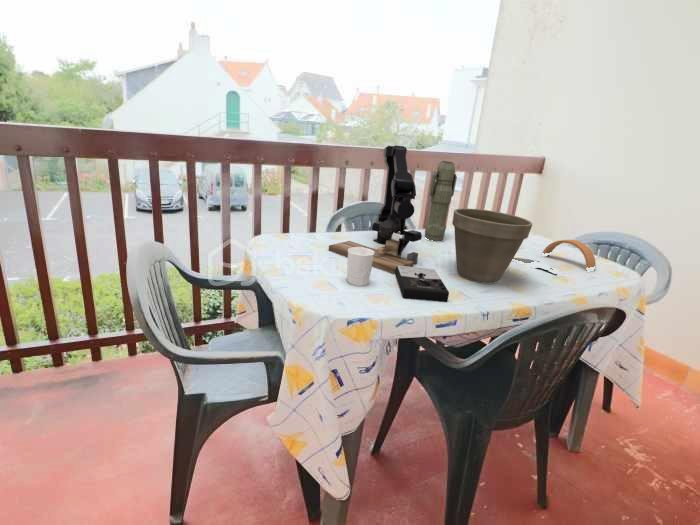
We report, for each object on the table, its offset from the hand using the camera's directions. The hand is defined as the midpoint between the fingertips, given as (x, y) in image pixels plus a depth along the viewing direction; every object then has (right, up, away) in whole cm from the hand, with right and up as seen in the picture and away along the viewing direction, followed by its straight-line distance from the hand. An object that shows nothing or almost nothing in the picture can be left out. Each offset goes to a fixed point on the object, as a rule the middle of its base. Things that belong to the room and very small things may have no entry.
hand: (393, 253), depth 140 cm
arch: (+75, -4, +17) cm, 77 cm away
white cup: (-14, -10, -25) cm, 30 cm away
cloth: (+59, -6, +9) cm, 60 cm away
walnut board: (-8, -2, -1) cm, 8 cm away
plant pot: (+29, -8, -9) cm, 32 cm away
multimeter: (+5, -12, -24) cm, 27 cm away
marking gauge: (-2, -2, -2) cm, 4 cm away
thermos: (+23, +7, +33) cm, 41 cm away
